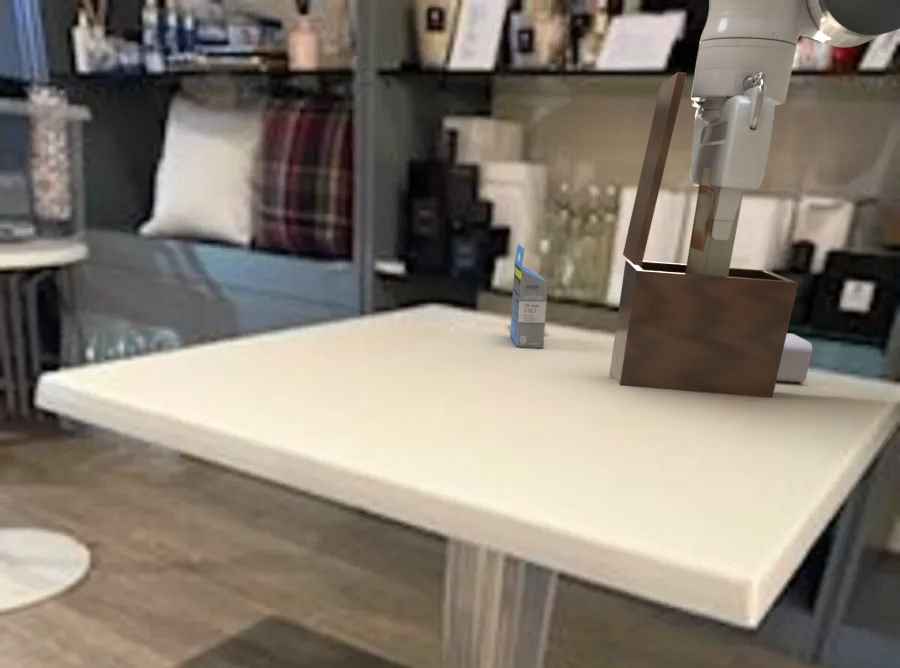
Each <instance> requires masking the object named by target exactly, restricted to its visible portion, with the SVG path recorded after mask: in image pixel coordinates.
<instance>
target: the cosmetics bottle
mask: <svg viewBox="0 0 900 668" xmlns="http://www.w3.org/2000/svg"><path fill="white" fill-rule="evenodd" d="M710 169H711V168H704V167H703V168H702V172H701V178H700V184H699V186H698V192H697V197H696V204H695V211H694V216H693V217H694V218H693V223H692V228H691V236H690V241H689V246H688V253H687V260H686V264H687V266H686V273H685V274H698V275H712V276H725V277H728V274H729V268H731V261H732V257H733V252H734V247H735V242H736V241H735V240H736V235H737V229H738V224H739V218H740V213H741V207H742V203H743V197H744V191H745V189H743V192H742V198H741V203H740V205H739V208H738V210H737V213H736V216H735V218H734V221H733V225H732V230H731V235H730V238H729V239H728V240H714V239H712V238H711V237H710V230H711V223H712V219H713V220H714V213H715V208H716V203H717V200H716V197H717V192H718V187H711V186H710V185H709V174H710Z"/></svg>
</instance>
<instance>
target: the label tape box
mask: <svg viewBox="0 0 900 668" xmlns="http://www.w3.org/2000/svg"><path fill="white" fill-rule="evenodd" d="M524 257H525V247H523V246H522V245H521V243H520V242H518V243H517V247H516V253H515V257H514V265H513V266H514V269H513V271H514V272H513V283H512V299H511V314H510V315H511V316H510V328H509V329H510V330H509V331H510V332H509V336H510V337H511V339H512V341H513V342H514V344H515V346H516V347H518V348H531V349H532V348H544V347H545V329H546V315H547V314H546V313H547V304H548V303H547V301H548V291H549V290H548V288H549V282H548V280H546V279H545V278H544V277H542V276H541V275H540V274H538V273H536V272H535V271H533V270H531V269H529V268H528V267H525V266H524V265H523V264H524V263H523V262H524Z"/></svg>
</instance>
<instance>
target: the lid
mask: <svg viewBox="0 0 900 668" xmlns="http://www.w3.org/2000/svg"><path fill="white" fill-rule="evenodd" d="M686 76H687V72H681V71H677V72H676V73H675V74H673V75H671V76H670V77H669V78H668V79H667V80H665V81H664V82H663V83H662V84H661V85H660V86H659V91H658V95H657V99H656V104H655V108H654V113H653V118H652V122H651V127H650V131H649V135H648V141H647V144H646V149H645V153H644V157H643V161H642V167H641V172H640V175H639V180H638V185H637V188H636V193H635V198H634V202H633V207H632V211H631V217H630V219H629V220H630V221H629V224H628V229H627V234H626V239H625V243H624V247H623V251H622V256H624V257H625V258H626V260H629V261H630V262H631V263H632V264H633V265H637V266H642V262H643V261H644V257H645V253H646V248H647V245H648V240H649V236H650V231H651V228H652V222H653V219H654V215H655V211H656V206H657V202H658V198H659V192H660V189H661V185H662V180H663V176H664V171H665V168H666V163H667V158H668V154H669V150H670V146H671V142H672V136H673V134H674V128H675V124H676V121H677V117H678V112H679V108H680V103H681V98H682V94H683V91H684V86H685V82H686V78H687V77H686Z"/></svg>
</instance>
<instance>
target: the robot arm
mask: <svg viewBox="0 0 900 668" xmlns="http://www.w3.org/2000/svg"><path fill="white" fill-rule="evenodd" d="M898 30H900V0H708V13H707V18H706V22H705V25H704V28H703V29H702V32H701V35H700V39H699V44H698V51H697V56H696V62H695V69H694V75H693V81H692V87H691V94H690V99H691V106H692V107H693V108H696V111H695V116H694V125H693V133H692V142H691V143H692V144H691V153H690V154H691V156H690V172H689V173H690V184H691V185H692V186H694V187H699V184H700V178H701V172H702V168H703V167H704V168H711V169H710V174H709V185H710V186H711V187H718V192H717V197H716V200H717V203H716V208H715V213H714V220H713V219H712V223H711V230H710V237H711V238H712V239H714V240H728V239H729V238H730V235H731V230H732V225H733V221H734V218H735V216H736V213H737V210H738V208H739V205H740V203H741V204H742V202H741V198H742V199H743V197H742V192H743V189H744V190H758V189H760V187H761V185H762V183H763V180H764V178H765V173H766V170H767V164H768V158H769V152H770V146H771V140H772V134H773V126H774V119H775V112H776V111H775V110H776V106H781V105H783V104H785V103H786V100H787V97H788V96H787V95H788V91H789V86H790V81H791V77H792V70H793V66H794V60H795V56H796V51H797V46H798V40H799V38H805V39H808V40H812V41H816V42H819V43H823V44H825V45H828V46H830V47H831V46H832V47H835V48H852V47H856V46H860V45H863V44H865V43H867V42H870V41H872V40H874V39H876V38H879V37H881V36H882V35H884V34H885V35H886V34H889V33H892V32H895V31H898ZM743 193H744V192H743Z"/></svg>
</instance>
